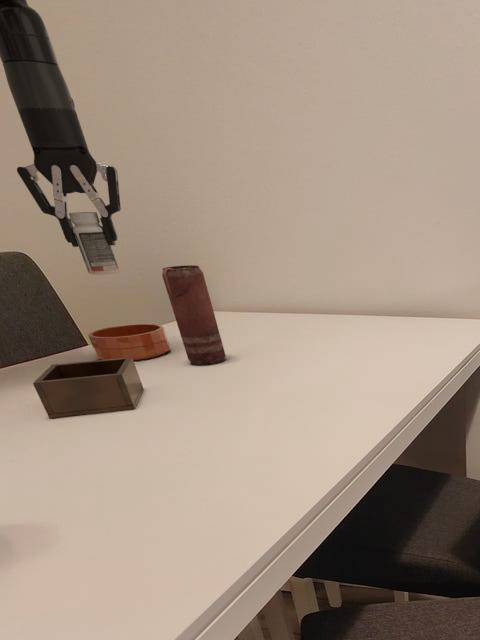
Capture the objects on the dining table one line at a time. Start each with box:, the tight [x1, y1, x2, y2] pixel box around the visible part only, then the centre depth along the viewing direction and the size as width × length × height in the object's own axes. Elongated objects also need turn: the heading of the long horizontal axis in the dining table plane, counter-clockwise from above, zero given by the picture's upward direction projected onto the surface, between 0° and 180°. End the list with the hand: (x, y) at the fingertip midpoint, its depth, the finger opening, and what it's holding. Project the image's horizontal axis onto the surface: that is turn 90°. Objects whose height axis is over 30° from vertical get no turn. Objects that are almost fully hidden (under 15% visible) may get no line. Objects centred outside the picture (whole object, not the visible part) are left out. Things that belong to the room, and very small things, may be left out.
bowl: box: [88, 323, 171, 362], centre depth 106 cm, size 12×12×4 cm
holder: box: [32, 357, 144, 419], centre depth 82 cm, size 11×11×4 cm
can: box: [161, 264, 226, 366], centre depth 98 cm, size 6×6×14 cm
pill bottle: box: [68, 211, 120, 276], centre depth 97 cm, size 5×5×8 cm
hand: (94, 245), depth 97 cm, fingers closed on pill bottle, 4 cm apart
